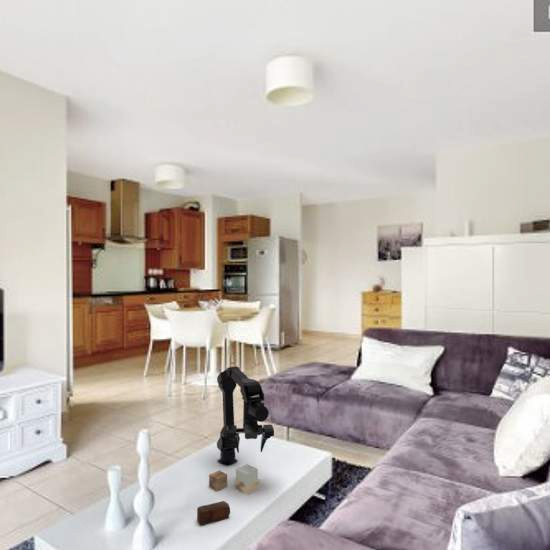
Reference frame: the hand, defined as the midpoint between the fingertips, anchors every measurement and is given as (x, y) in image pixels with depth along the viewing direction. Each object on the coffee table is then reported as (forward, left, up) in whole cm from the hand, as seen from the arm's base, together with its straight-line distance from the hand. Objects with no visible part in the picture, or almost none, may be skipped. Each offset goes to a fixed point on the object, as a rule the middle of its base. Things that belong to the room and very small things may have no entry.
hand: (249, 452), depth 165 cm
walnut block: (-8, -10, -13) cm, 18 cm away
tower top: (+1, -3, -9) cm, 10 cm away
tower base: (+1, -3, -13) cm, 14 cm away
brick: (+8, -24, -14) cm, 29 cm away
